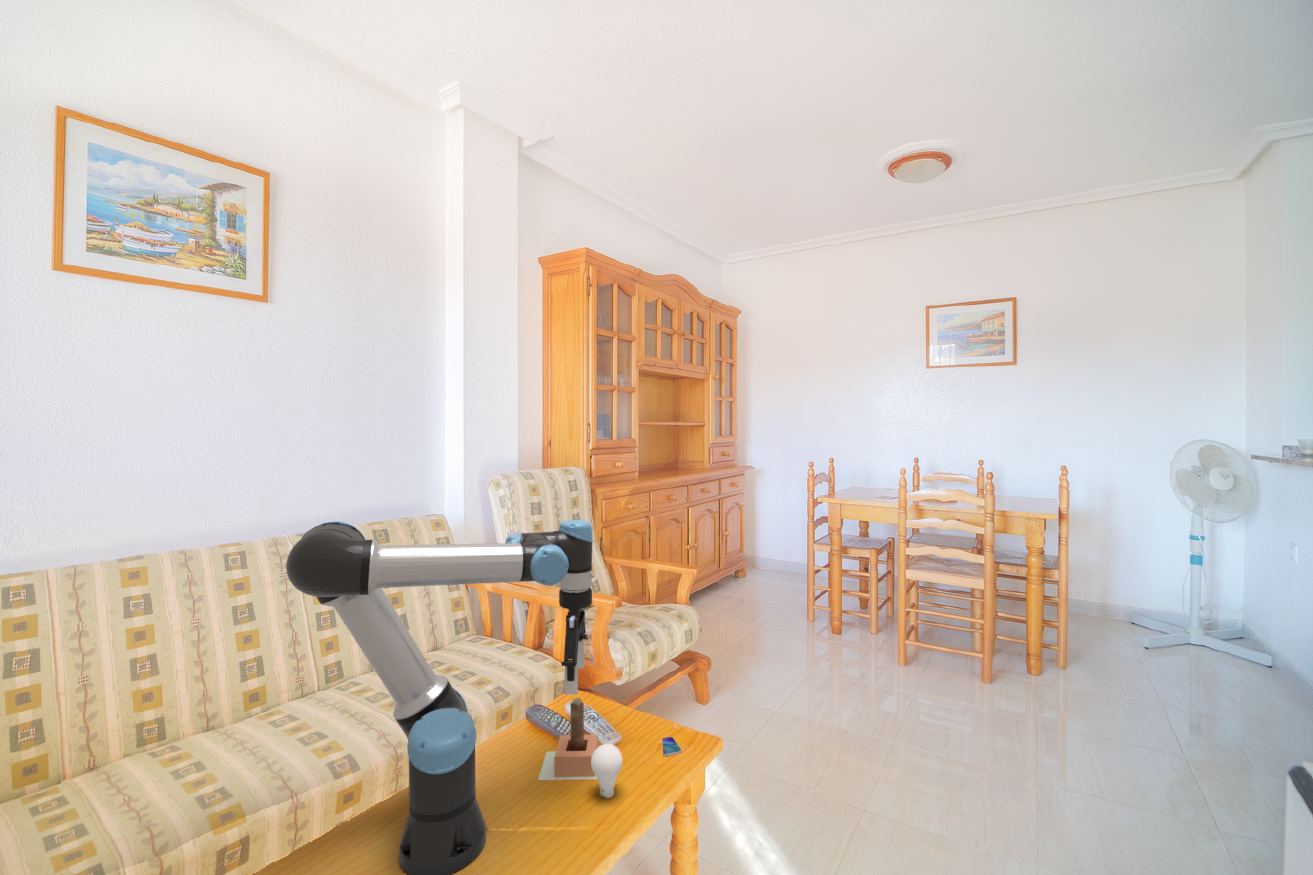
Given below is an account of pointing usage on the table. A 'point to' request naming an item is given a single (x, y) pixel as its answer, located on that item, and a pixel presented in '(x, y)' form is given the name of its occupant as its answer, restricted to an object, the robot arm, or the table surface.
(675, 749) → the smartphone
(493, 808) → the table surface
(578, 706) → the dark brown rod
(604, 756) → the light bulb
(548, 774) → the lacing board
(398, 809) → the table surface
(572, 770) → the terracotta hollow block
